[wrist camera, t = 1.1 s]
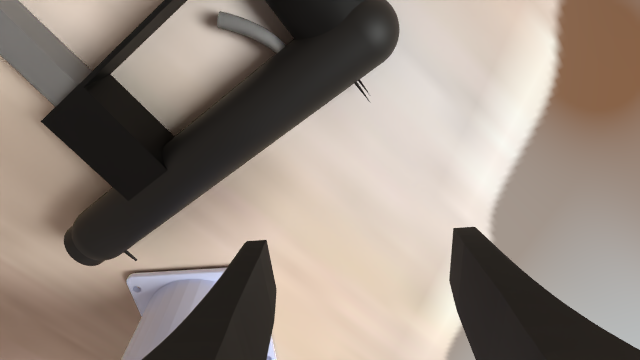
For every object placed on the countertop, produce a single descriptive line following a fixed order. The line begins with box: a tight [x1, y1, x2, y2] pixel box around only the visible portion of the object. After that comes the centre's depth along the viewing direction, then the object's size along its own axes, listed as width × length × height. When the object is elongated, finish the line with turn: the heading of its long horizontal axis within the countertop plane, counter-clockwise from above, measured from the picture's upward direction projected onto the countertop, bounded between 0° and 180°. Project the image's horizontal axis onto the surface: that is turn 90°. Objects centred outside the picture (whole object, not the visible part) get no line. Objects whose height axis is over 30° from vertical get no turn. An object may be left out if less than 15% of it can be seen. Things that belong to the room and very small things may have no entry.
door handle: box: [0, 0, 399, 266], centre depth 18 cm, size 3×20×16 cm
